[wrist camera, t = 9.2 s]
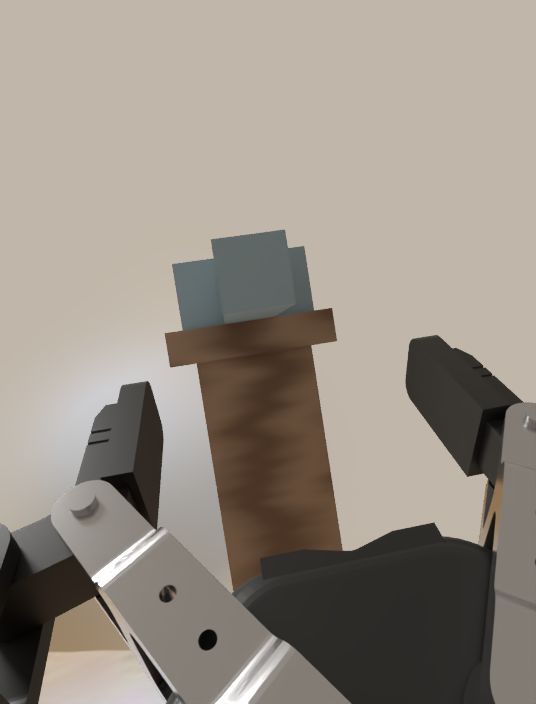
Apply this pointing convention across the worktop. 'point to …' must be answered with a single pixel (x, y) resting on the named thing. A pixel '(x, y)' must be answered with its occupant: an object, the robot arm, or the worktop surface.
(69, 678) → the worktop surface
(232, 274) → the blue-grey stepped block
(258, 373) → the walnut stand
